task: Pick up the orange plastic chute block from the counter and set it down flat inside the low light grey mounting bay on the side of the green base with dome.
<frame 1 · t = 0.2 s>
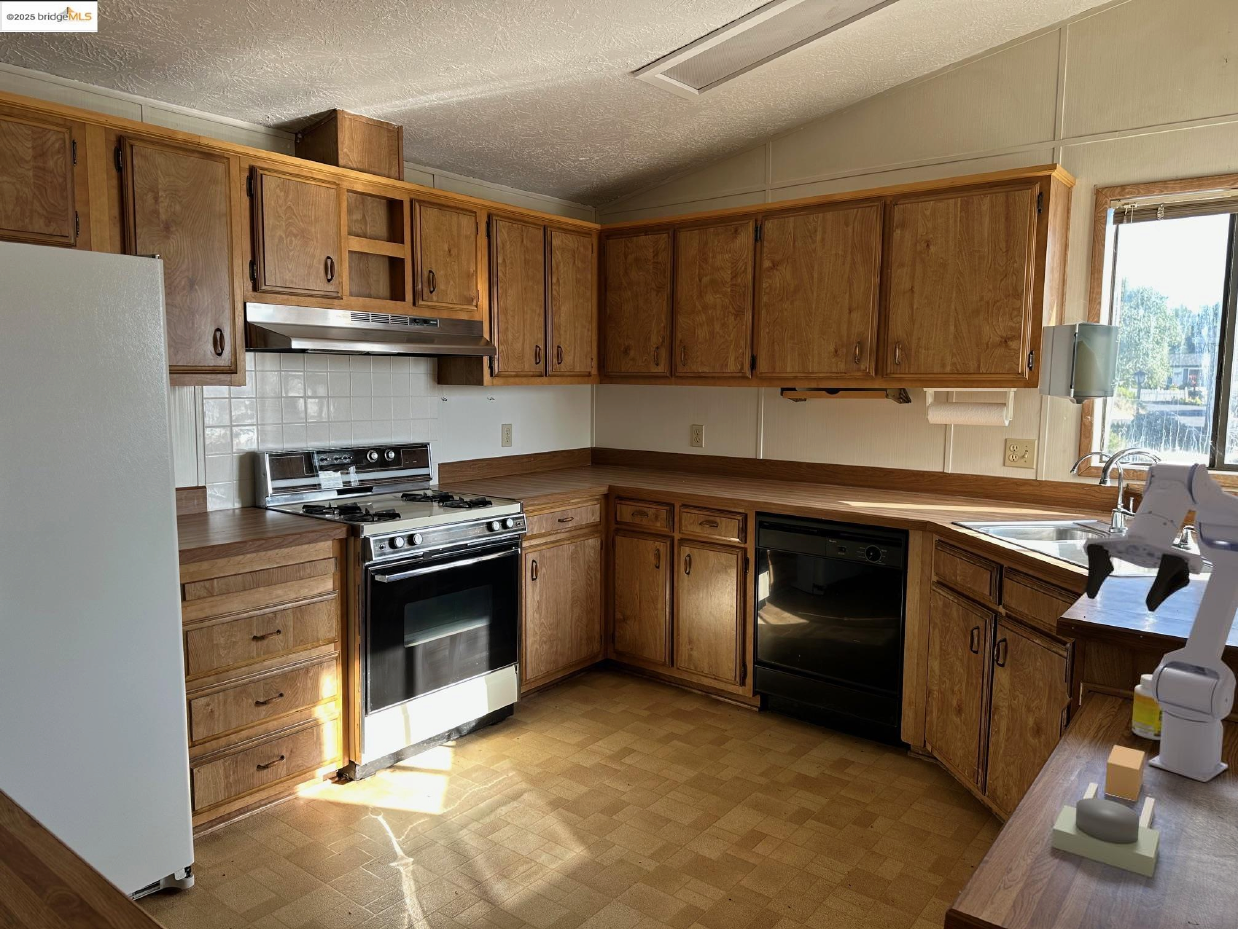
hand: (1118, 600, 114), 31 cm above the table, tool tilted 45°, fingers open, 7 cm apart
green base with dome: (1115, 818, 116), on the table
chute block: (1123, 789, 125), on the table
supplement bottle: (1150, 736, 146), on the table
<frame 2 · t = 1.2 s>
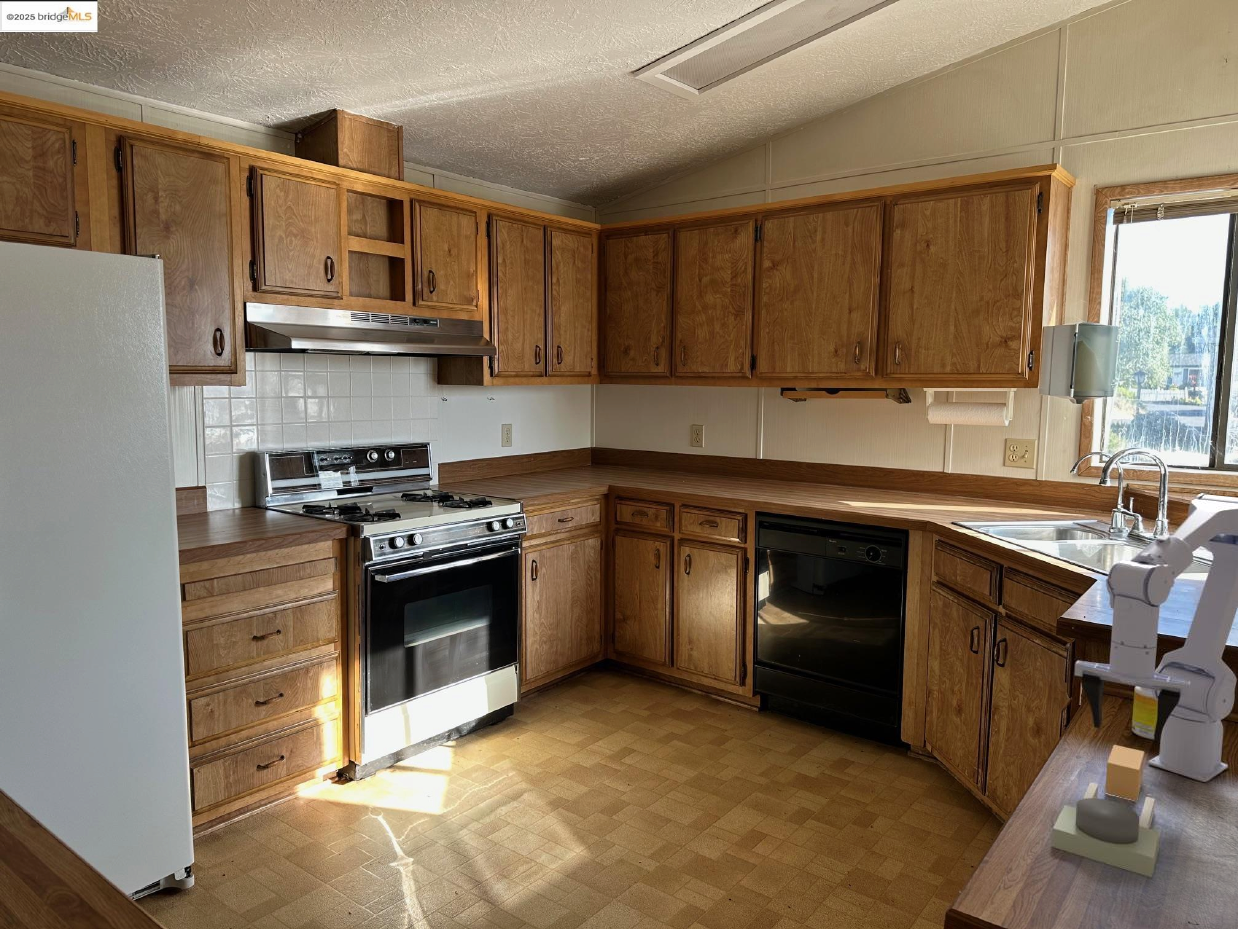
hand: (1126, 732, 124), 9 cm above the table, tool pointing down, fingers open, 7 cm apart
nothing on the table moved.
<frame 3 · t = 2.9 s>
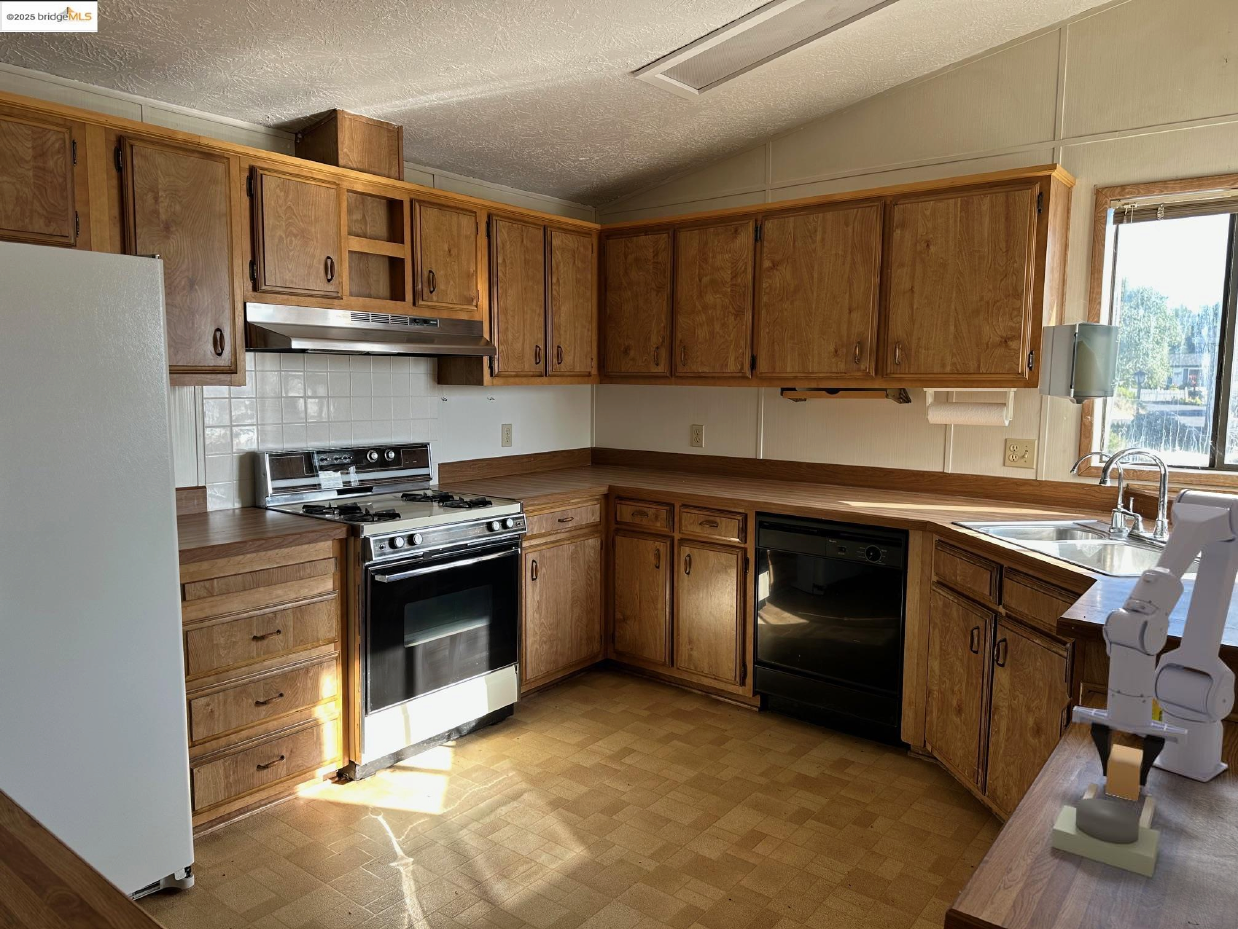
hand: (1124, 779, 125), 1 cm above the table, tool pointing down, fingers closed on chute block, 4 cm apart
chute block: (1124, 788, 125), on the table, touching gripper
everything else where it was.
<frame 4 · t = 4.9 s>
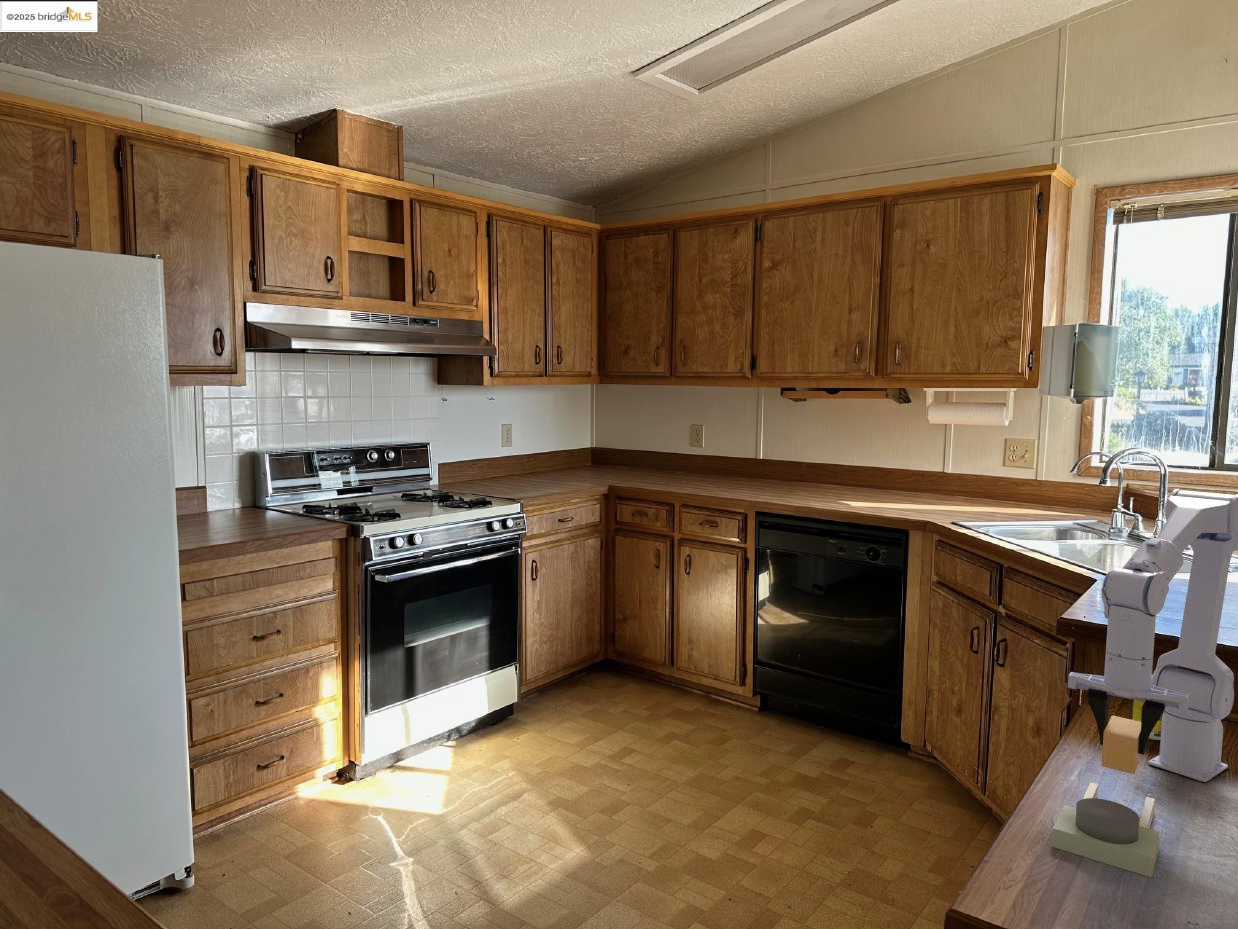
hand: (1122, 747, 119), 9 cm above the table, tool pointing down, fingers closed on chute block, 4 cm apart
chute block: (1121, 761, 119), point 7 cm above the table, touching gripper
everything else where it was.
when the fingers open (3 cm above the table, at t = 7.0 s): chute block drops 1 cm, resting in green base with dome.
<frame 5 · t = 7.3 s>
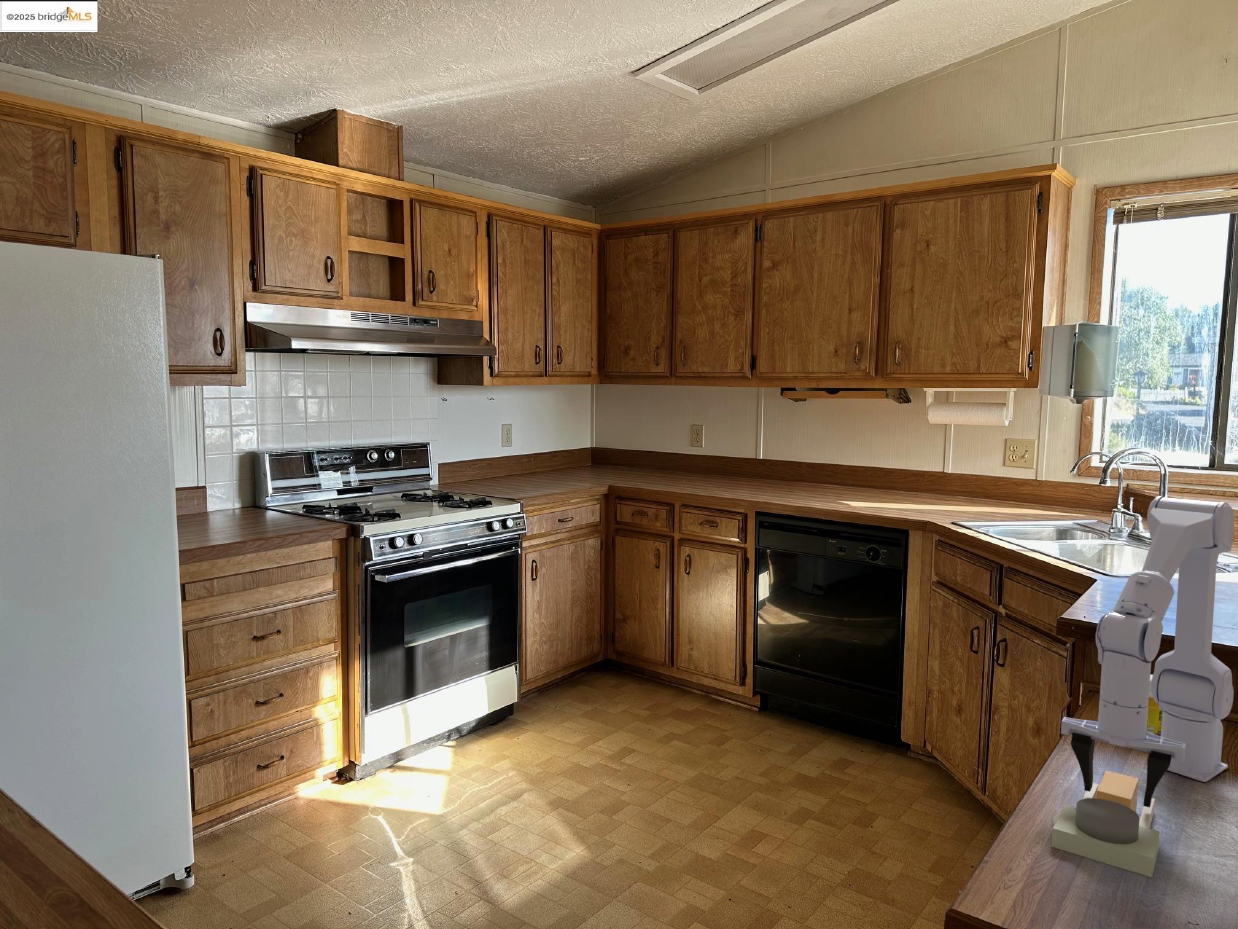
hand: (1117, 796, 115), 3 cm above the table, tool pointing down, fingers open, 6 cm apart
chute block: (1115, 819, 116), resting in green base with dome
everything else where it was.
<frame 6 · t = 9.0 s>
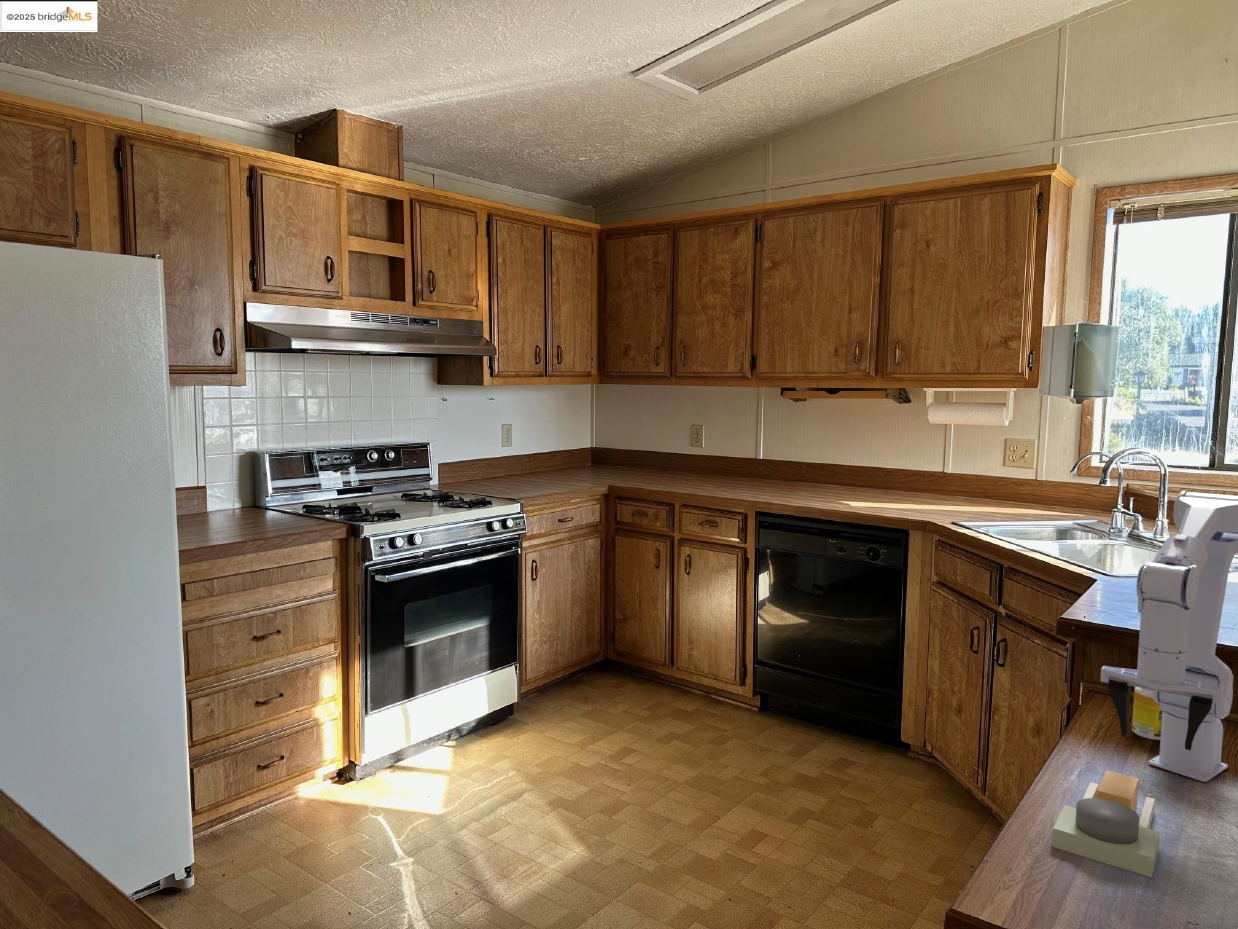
hand: (1155, 740, 119), 9 cm above the table, tool pointing down, fingers open, 7 cm apart
nothing on the table moved.
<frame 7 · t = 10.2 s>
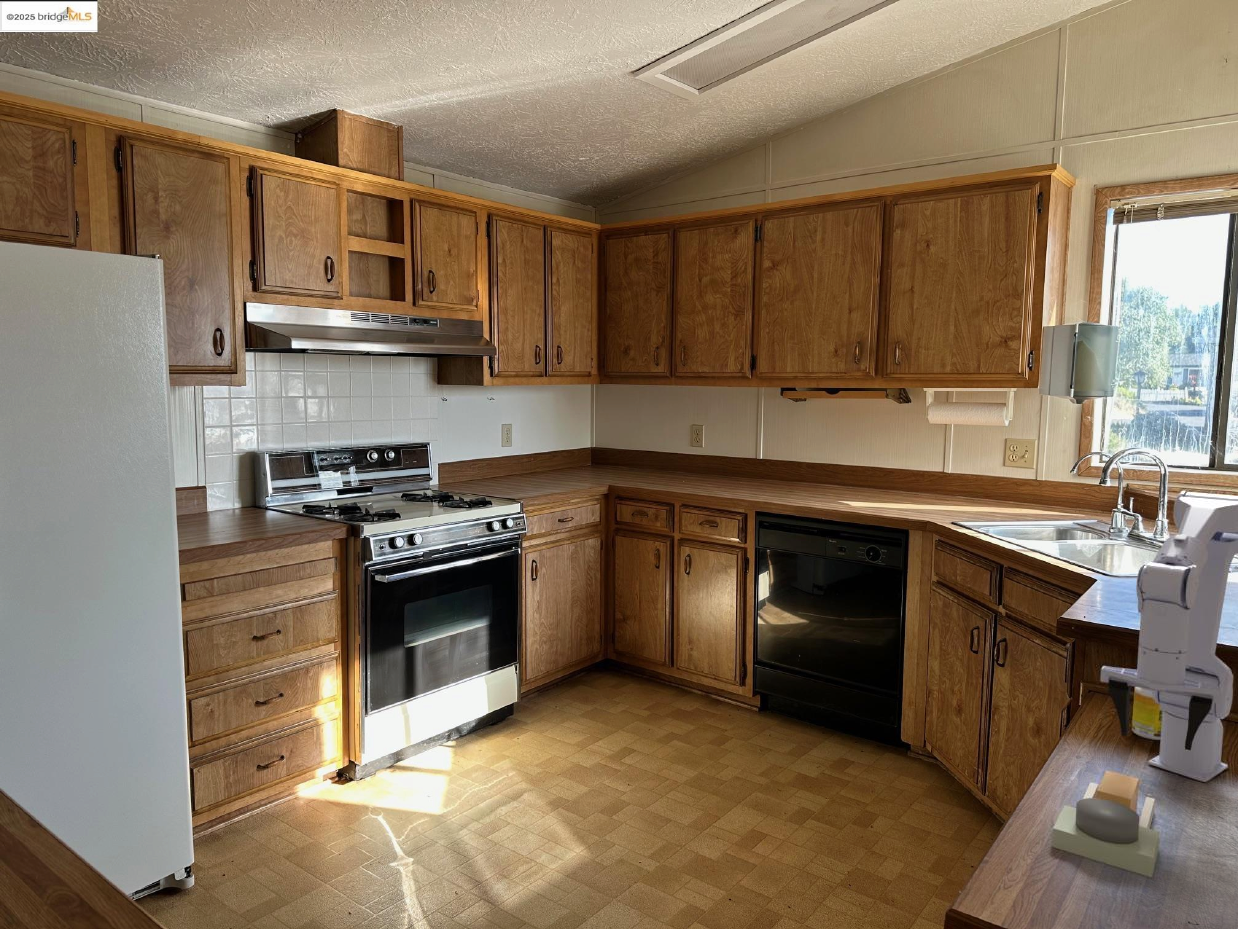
hand: (1155, 740, 119), 9 cm above the table, tool pointing down, fingers open, 7 cm apart
nothing on the table moved.
at the end: chute block 0.2 cm off-centre on the green base with dome, point 0.0 cm above the green base with dome's base; chute block tilted 0°; the gripper is holding nothing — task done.
